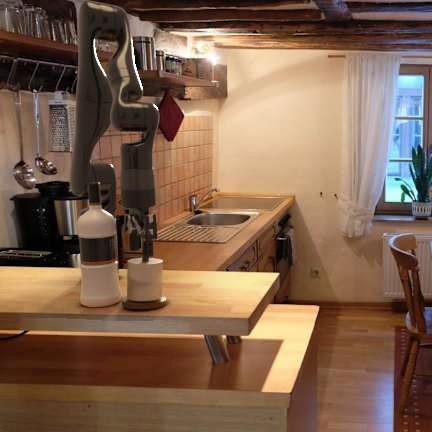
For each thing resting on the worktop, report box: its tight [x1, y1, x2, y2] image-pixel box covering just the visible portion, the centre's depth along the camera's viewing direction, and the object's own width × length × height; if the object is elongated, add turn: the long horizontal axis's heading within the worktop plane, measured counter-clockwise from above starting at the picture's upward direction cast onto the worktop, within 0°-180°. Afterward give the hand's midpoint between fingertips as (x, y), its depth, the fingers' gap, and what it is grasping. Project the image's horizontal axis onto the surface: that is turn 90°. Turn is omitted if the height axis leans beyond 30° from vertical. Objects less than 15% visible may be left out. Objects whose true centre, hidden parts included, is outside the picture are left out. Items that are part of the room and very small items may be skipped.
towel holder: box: [121, 240, 167, 310], centre depth 137 cm, size 10×16×10 cm
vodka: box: [76, 182, 123, 308], centre depth 137 cm, size 9×9×30 cm
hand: (141, 253), depth 136 cm, fingers open, 8 cm apart
